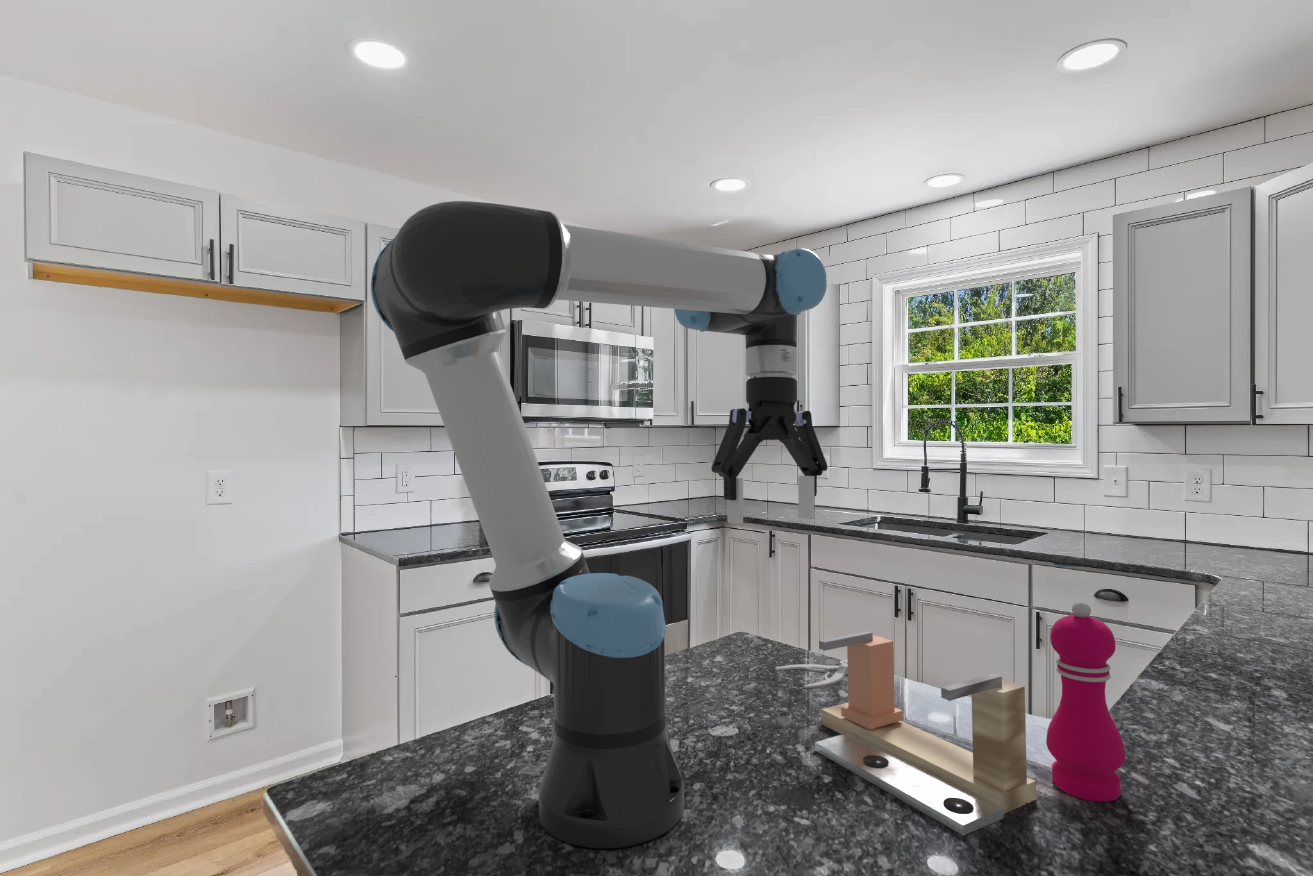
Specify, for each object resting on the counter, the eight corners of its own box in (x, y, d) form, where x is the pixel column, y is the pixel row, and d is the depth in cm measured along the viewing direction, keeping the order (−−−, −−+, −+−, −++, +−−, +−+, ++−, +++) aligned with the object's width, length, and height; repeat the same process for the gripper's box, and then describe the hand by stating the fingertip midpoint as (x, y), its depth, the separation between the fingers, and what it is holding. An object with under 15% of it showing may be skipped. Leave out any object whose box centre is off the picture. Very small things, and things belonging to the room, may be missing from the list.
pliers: (774, 662, 114) (850, 651, 119) (774, 671, 114) (850, 660, 119) (806, 681, 105) (887, 668, 110) (806, 691, 105) (888, 678, 110)
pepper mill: (1053, 765, 79) (1049, 591, 79) (1129, 784, 74) (1125, 599, 75) (1041, 790, 73) (1036, 603, 74) (1122, 812, 69) (1117, 613, 69)
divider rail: (965, 830, 66) (962, 695, 66) (792, 732, 89) (790, 632, 89) (1036, 800, 72) (1033, 675, 72) (855, 715, 94) (853, 620, 95)
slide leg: (838, 738, 82) (836, 646, 82) (810, 724, 86) (808, 636, 86) (902, 720, 87) (900, 633, 87) (873, 707, 91) (871, 624, 91)
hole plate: (963, 835, 65) (963, 823, 65) (815, 750, 84) (814, 741, 84) (1003, 818, 68) (1003, 806, 68) (851, 739, 87) (851, 730, 87)
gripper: (717, 370, 92) (718, 528, 92) (850, 379, 105) (851, 518, 105) (687, 375, 99) (687, 523, 98) (815, 383, 111) (816, 514, 111)
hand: (772, 521), depth 101 cm, fingers open, 13 cm apart
